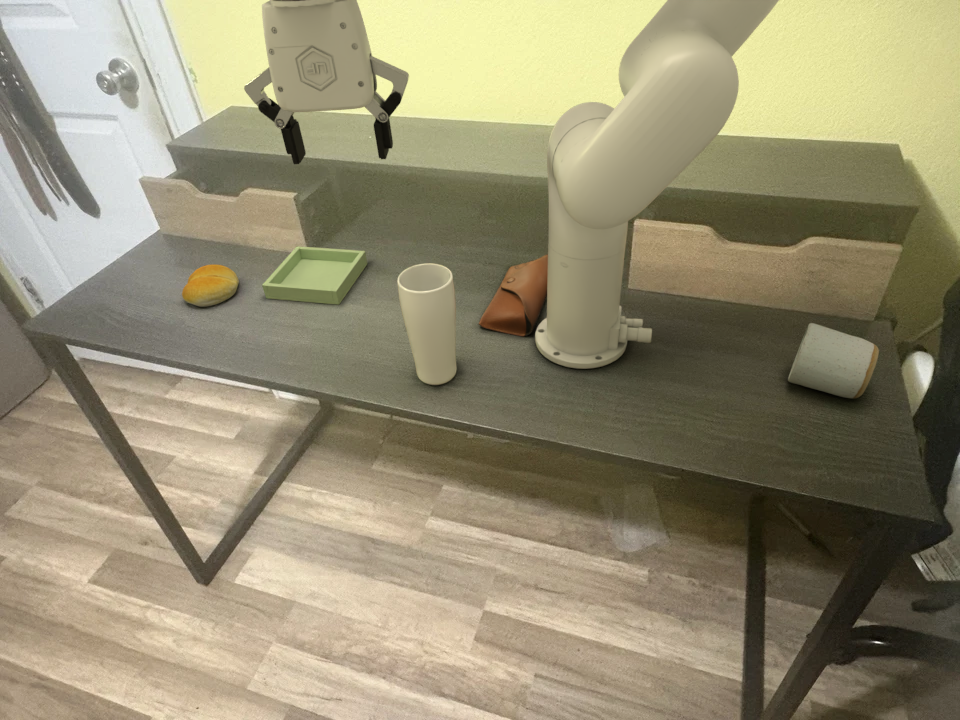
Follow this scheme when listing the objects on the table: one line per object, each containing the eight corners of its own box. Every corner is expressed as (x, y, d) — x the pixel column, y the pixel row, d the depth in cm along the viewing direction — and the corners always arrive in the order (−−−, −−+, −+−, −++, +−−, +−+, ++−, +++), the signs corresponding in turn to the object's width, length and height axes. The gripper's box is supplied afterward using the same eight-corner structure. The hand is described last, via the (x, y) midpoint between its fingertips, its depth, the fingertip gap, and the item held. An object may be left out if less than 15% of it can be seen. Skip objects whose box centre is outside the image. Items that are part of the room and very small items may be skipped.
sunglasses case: (508, 264, 104) (528, 234, 100) (543, 286, 105) (565, 258, 100) (475, 327, 91) (497, 296, 86) (517, 352, 92) (540, 323, 87)
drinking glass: (455, 393, 81) (445, 294, 72) (405, 388, 82) (388, 290, 73) (467, 360, 86) (459, 264, 77) (419, 355, 87) (405, 260, 78)
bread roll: (179, 311, 99) (170, 289, 97) (196, 280, 106) (188, 260, 104) (232, 306, 100) (224, 285, 97) (245, 277, 106) (238, 256, 104)
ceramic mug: (857, 414, 74) (880, 362, 70) (783, 393, 78) (800, 343, 73) (865, 363, 81) (886, 314, 77) (797, 346, 85) (813, 298, 80)
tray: (367, 263, 108) (365, 250, 106) (339, 304, 98) (336, 291, 97) (300, 258, 110) (296, 246, 109) (265, 298, 101) (261, 285, 99)
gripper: (204, -4, 58) (257, 175, 69) (390, -18, 57) (415, 166, 68) (230, -18, 64) (275, 149, 75) (400, -30, 63) (421, 141, 74)
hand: (342, 157), depth 71 cm, fingers open, 9 cm apart
